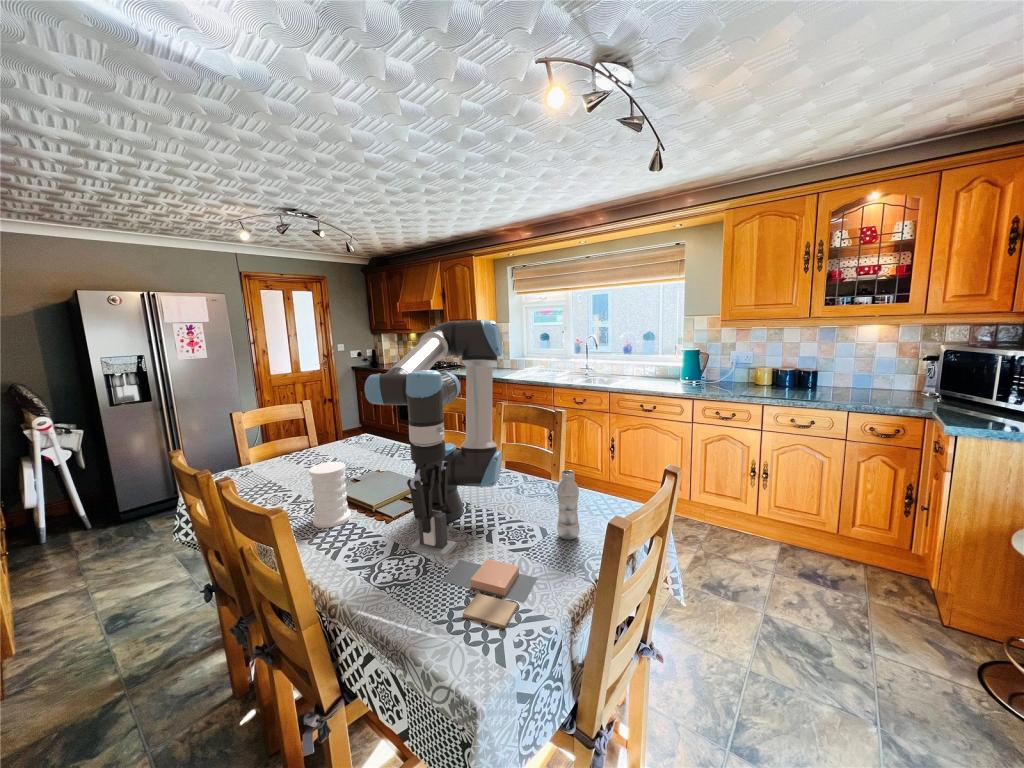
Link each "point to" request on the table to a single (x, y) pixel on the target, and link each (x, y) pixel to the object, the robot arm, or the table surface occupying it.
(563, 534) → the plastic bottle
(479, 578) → the tile
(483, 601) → the board
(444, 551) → the grout float
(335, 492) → the decorative container
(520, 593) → the mat
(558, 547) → the table surface
